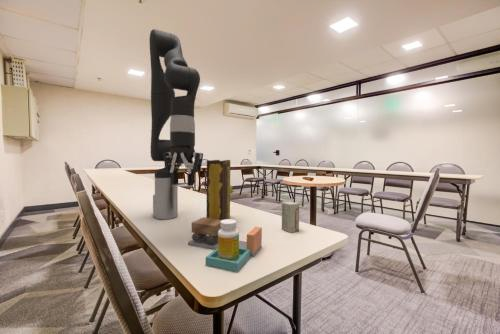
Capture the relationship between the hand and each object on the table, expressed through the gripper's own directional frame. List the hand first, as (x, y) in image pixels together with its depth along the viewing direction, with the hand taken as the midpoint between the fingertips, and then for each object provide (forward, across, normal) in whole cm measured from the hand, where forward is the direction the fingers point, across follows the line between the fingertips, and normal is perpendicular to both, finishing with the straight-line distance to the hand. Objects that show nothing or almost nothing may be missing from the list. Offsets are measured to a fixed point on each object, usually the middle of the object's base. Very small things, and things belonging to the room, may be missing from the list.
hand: (182, 184), depth 71 cm
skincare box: (+18, +30, +22) cm, 41 cm away
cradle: (+17, +20, -8) cm, 28 cm away
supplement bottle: (+17, +20, -8) cm, 28 cm away
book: (+18, +4, +18) cm, 25 cm away
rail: (+17, +15, 0) cm, 23 cm away
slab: (+16, +9, 0) cm, 19 cm away
